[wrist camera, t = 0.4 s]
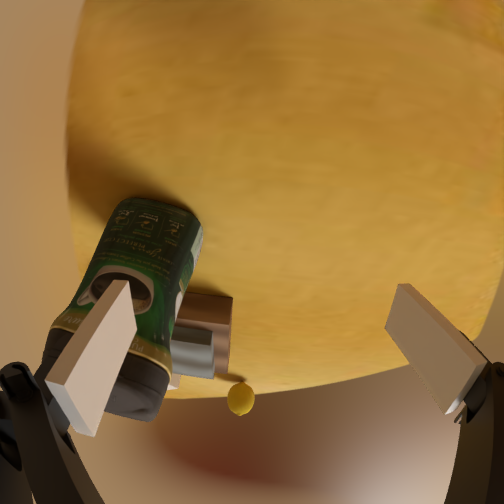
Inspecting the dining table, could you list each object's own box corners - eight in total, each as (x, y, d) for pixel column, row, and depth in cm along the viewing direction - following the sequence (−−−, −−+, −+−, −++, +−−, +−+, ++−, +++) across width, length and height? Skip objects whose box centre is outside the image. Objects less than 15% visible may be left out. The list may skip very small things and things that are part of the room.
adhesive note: (150, 360, 52) (144, 381, 49) (163, 356, 50) (158, 379, 47) (168, 369, 55) (163, 390, 51) (182, 366, 53) (178, 388, 49)
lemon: (238, 374, 53) (235, 411, 47) (260, 381, 55) (258, 416, 49) (224, 380, 56) (220, 414, 50) (245, 387, 58) (242, 419, 52)
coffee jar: (118, 243, 30) (52, 395, 16) (118, 186, 24) (15, 361, 11) (197, 266, 31) (160, 433, 18) (212, 211, 26) (162, 419, 13)
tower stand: (115, 281, 35) (100, 318, 30) (232, 297, 35) (227, 339, 30) (141, 339, 46) (132, 368, 41) (229, 352, 46) (226, 384, 42)
